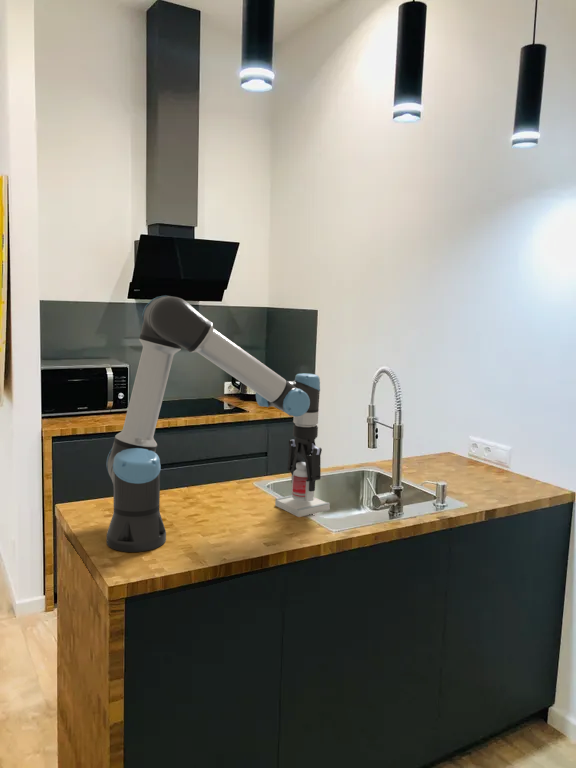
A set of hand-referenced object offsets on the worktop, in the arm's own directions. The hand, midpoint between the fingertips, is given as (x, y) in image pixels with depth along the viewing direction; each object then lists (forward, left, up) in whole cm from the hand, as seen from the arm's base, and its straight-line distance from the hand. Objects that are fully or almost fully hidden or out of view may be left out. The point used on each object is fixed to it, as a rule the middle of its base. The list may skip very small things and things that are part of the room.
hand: (302, 497), depth 197 cm
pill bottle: (0, 0, 0) cm, 0 cm away
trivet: (0, 0, -3) cm, 3 cm away
